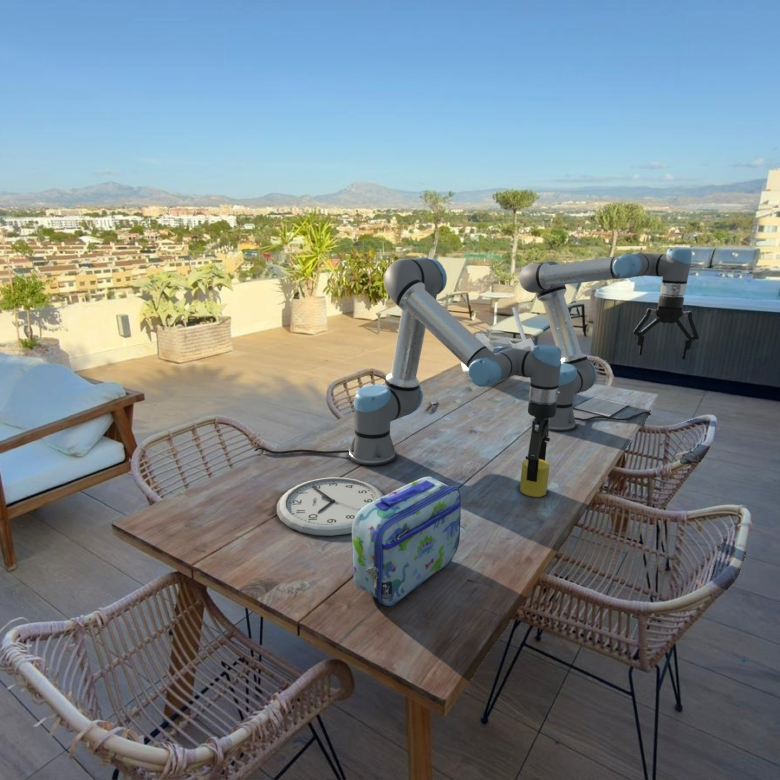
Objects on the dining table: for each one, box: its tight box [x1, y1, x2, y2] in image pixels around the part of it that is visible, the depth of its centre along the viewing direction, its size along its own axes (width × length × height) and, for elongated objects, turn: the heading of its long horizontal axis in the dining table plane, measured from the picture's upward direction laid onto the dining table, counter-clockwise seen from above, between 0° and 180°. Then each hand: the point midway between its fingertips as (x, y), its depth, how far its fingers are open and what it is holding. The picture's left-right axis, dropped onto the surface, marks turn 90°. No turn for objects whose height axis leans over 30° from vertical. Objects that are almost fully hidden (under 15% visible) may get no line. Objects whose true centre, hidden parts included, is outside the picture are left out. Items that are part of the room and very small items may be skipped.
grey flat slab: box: [573, 396, 629, 417], centre depth 226 cm, size 21×1×15 cm
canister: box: [519, 458, 550, 498], centre depth 152 cm, size 8×8×9 cm
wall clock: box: [276, 476, 385, 537], centre depth 142 cm, size 30×2×30 cm
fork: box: [425, 396, 439, 412], centre depth 222 cm, size 3×16×2 cm, turn 160°
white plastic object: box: [460, 306, 536, 384], centre depth 259 cm, size 37×45×31 cm
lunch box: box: [351, 476, 462, 607], centre depth 111 cm, size 26×11×21 cm, turn 135°
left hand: (536, 471), depth 151 cm, fingers open, 13 cm apart
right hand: (661, 356), depth 184 cm, fingers open, 13 cm apart
